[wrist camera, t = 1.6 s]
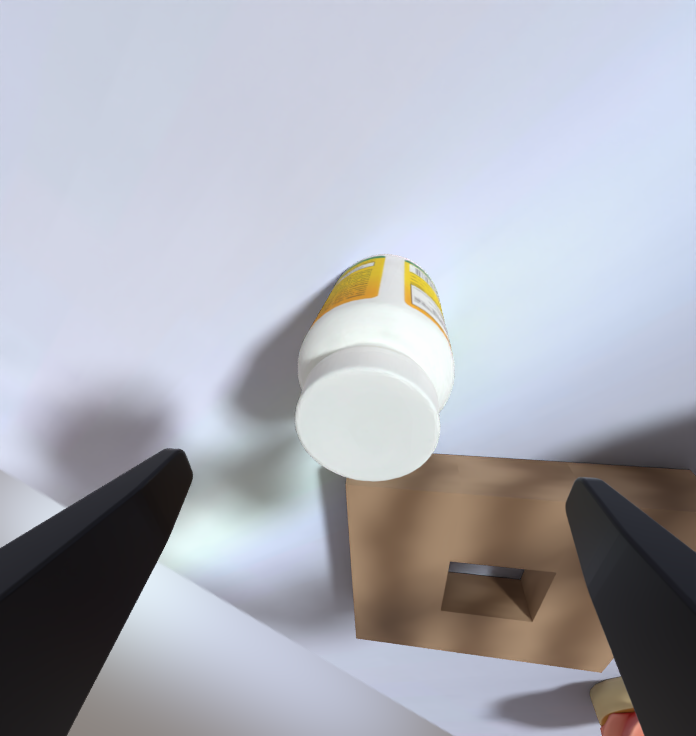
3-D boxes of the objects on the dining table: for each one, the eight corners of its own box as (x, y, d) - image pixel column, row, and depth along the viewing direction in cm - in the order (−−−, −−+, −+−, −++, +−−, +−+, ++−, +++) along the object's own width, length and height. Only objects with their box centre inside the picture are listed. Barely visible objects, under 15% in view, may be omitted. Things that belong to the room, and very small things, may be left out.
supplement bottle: (452, 264, 16) (506, 371, 8) (420, 361, 19) (435, 514, 11) (339, 240, 16) (275, 322, 8) (324, 340, 19) (266, 476, 11)
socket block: (690, 470, 20) (732, 514, 17) (584, 629, 30) (601, 672, 28) (351, 448, 23) (345, 484, 20) (359, 601, 33) (356, 638, 30)
